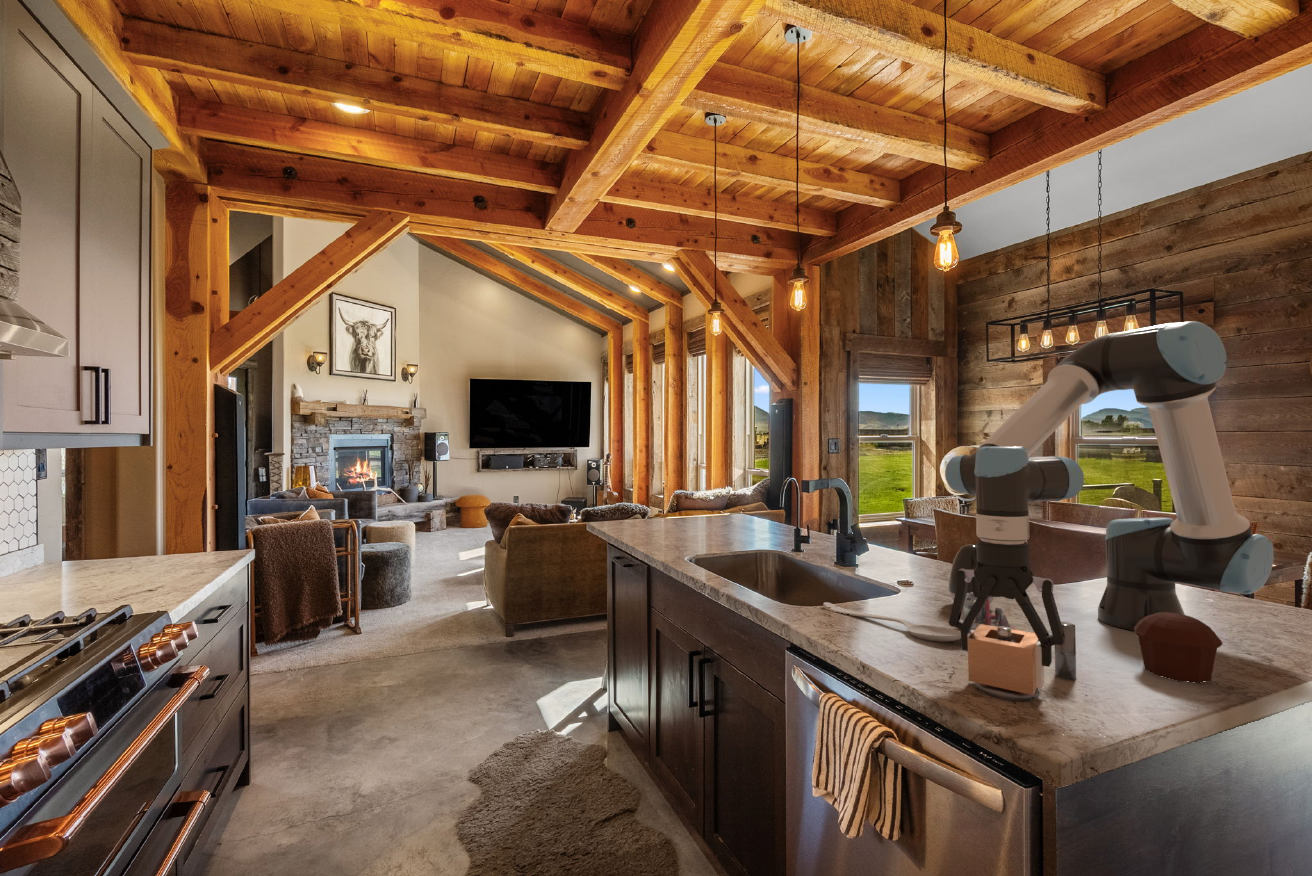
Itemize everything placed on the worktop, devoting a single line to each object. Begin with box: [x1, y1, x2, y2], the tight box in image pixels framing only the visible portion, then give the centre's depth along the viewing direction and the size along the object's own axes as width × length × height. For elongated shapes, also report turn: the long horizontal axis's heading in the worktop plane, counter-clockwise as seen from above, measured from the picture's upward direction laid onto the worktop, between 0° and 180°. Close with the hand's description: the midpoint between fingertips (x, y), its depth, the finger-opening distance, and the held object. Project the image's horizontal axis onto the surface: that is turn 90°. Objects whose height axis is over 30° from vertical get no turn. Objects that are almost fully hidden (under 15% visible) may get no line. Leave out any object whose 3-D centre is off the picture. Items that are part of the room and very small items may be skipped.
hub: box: [973, 626, 1039, 702], centre depth 97 cm, size 9×9×10 cm
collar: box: [967, 624, 1040, 695], centre depth 97 cm, size 9×9×7 cm
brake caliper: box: [960, 587, 1011, 630], centre depth 124 cm, size 11×11×12 cm
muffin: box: [1133, 612, 1224, 684], centre depth 103 cm, size 12×11×10 cm
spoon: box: [822, 601, 961, 643], centre depth 132 cm, size 35×8×3 cm, turn 33°
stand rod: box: [1054, 621, 1077, 681], centre depth 102 cm, size 3×3×9 cm
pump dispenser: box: [948, 543, 995, 606], centre depth 145 cm, size 10×10×15 cm
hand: (1005, 677), depth 97 cm, fingers closed on collar, 9 cm apart
